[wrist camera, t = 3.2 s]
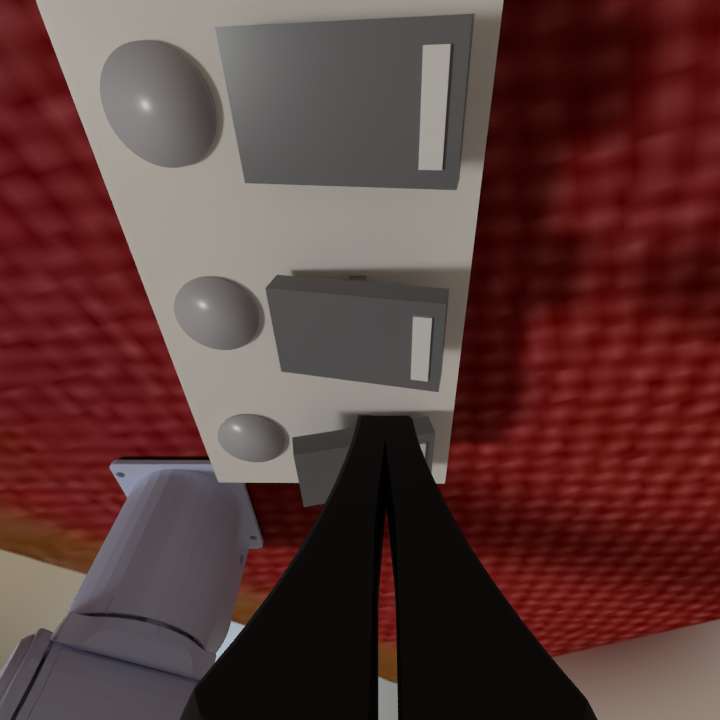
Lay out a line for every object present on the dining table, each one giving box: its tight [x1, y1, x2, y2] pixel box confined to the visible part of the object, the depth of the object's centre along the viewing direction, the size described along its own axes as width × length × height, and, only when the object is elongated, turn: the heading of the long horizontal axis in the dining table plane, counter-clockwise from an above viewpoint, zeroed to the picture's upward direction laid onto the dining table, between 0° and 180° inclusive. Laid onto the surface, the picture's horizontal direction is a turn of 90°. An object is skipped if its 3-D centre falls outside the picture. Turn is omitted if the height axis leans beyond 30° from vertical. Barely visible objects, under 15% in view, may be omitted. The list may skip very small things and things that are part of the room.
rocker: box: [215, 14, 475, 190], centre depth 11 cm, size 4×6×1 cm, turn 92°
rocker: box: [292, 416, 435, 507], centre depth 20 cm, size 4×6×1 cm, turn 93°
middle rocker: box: [265, 275, 449, 392], centre depth 16 cm, size 4×6×1 cm, turn 93°
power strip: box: [36, 0, 504, 484], centre depth 18 cm, size 21×12×4 cm, turn 3°
